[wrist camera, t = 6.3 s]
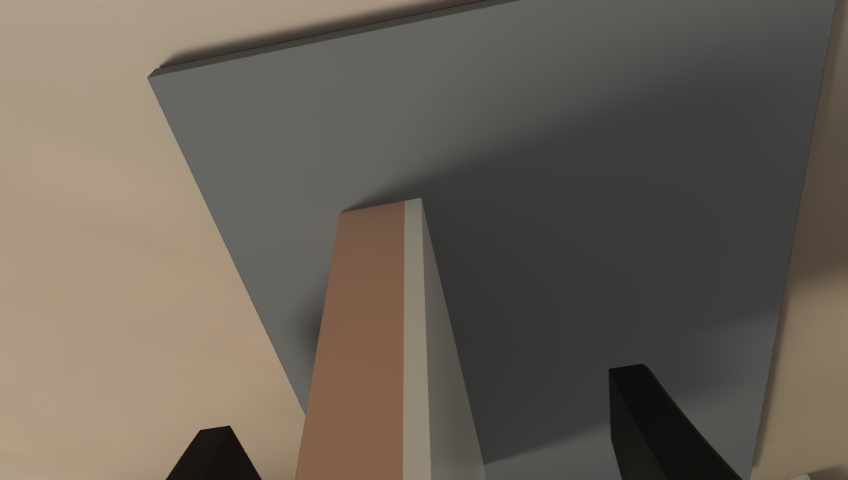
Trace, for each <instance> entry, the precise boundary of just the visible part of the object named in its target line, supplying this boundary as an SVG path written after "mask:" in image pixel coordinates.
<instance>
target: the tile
mask: <svg viewBox="0 0 848 480" xmlns="http://www.w3.org/2000/svg"><path fill="white" fill-rule="evenodd" d="M295 480H486V479H485V471H484V464H483V459H482V455H481V451H480V447H479V442H478V438H477V434H476V430H475V425H474V421H473V417H472V412H471V408H470V404H469V400H468V395H467V391H466V387H465V383H464V378H463V374H462V370H461V366H460V361H459V357H458V353H457V349H456V344H455V340H454V336H453V332H452V327H451V323H450V319H449V315H448V310H447V306H446V302H445V298H444V293H443V289H442V285H441V281H440V276H439V272H438V268H437V264H436V259H435V255H434V251H433V246H432V242H431V238H430V234H429V229H428V225H427V221H426V217H425V212H424V208H423V204H422V200H421V198H417V199H412V200H406V201H401V202H395V203H390V204H385V205H379V206H374V207H368V208H363V209H357V210H352V211H346V212H341V213H340V214H339V220H338V226H337V232H336V238H335V244H334V250H333V256H332V262H331V268H330V274H329V280H328V286H327V292H326V298H325V304H324V310H323V316H322V322H321V328H320V333H319V339H318V345H317V351H316V357H315V363H314V369H313V375H312V381H311V387H310V393H309V399H308V405H307V411H306V417H305V423H304V429H303V435H302V441H301V447H300V453H299V459H298V465H297V471H296V477H295Z"/></svg>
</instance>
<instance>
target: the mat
mask: <svg viewBox="0 0 848 480" xmlns="http://www.w3.org/2000/svg"><path fill="white" fill-rule="evenodd" d="M835 4H836V0H484V1H479V2H475V3H470V4H465V5H460V6H455V7H451V8H446V9H441V10H436V11H431V12H427V13H422V14H417V15H412V16H407V17H403V18H398V19H393V20H388V21H383V22H379V23H374V24H369V25H364V26H359V27H355V28H350V29H345V30H340V31H335V32H331V33H326V34H321V35H316V36H311V37H307V38H302V39H297V40H292V41H287V42H283V43H278V44H273V45H268V46H263V47H259V48H254V49H249V50H244V51H239V52H235V53H230V54H225V55H220V56H215V57H211V58H206V59H201V60H196V61H191V62H187V63H182V64H177V65H172V66H167V67H163V68H158V69H155V70H154V71H153V72H152V73H151V74H150V75H149V76H148V77H147V78H148V80H149V83H150V85H151V87H152V89H153V91H154V93H155V95H156V98H157V100H158V102H159V104H160V106H161V108H162V110H163V112H164V115H165V117H166V119H167V121H168V123H169V125H170V127H171V130H172V132H173V134H174V136H175V138H176V140H177V142H178V144H179V147H180V149H181V151H182V153H183V155H184V157H185V159H186V162H187V164H188V166H189V168H190V170H191V172H192V174H193V176H194V179H195V181H196V183H197V185H198V187H199V189H200V191H201V194H202V196H203V198H204V200H205V202H206V204H207V206H208V208H209V211H210V213H211V215H212V217H213V219H214V221H215V223H216V226H217V228H218V230H219V232H220V234H221V236H222V238H223V240H224V243H225V245H226V247H227V249H228V251H229V253H230V255H231V258H232V260H233V262H234V264H235V266H236V268H237V270H238V272H239V275H240V277H241V279H242V281H243V283H244V285H245V287H246V290H247V292H248V294H249V296H250V298H251V300H252V302H253V304H254V307H255V309H256V311H257V313H258V315H259V317H260V319H261V322H262V324H263V326H264V328H265V330H266V332H267V334H268V336H269V339H270V341H271V343H272V345H273V347H274V349H275V351H276V353H277V356H278V358H279V360H280V362H281V364H282V366H283V368H284V371H285V373H286V375H287V377H288V379H289V381H290V383H291V385H292V388H293V390H294V392H295V394H296V396H297V398H298V400H299V403H300V405H301V407H302V409H303V411H304V413H305V415H306V411H307V405H308V399H309V393H310V387H311V381H312V375H313V369H314V363H315V357H316V351H317V345H318V339H319V333H320V328H321V322H322V316H323V310H324V304H325V298H326V292H327V286H328V280H329V274H330V268H331V262H332V256H333V250H334V244H335V238H336V232H337V226H338V220H339V214H340V213H341V212H346V211H352V210H357V209H363V208H368V207H374V206H379V205H385V204H390V203H395V202H401V201H406V200H412V199H417V198H421V200H422V204H423V208H424V212H425V217H426V221H427V225H428V229H429V234H430V238H431V242H432V246H433V251H434V255H435V259H436V264H437V268H438V272H439V276H440V281H441V285H442V289H443V293H444V298H445V302H446V306H447V310H448V315H449V319H450V323H451V327H452V332H453V336H454V340H455V344H456V349H457V353H458V357H459V361H460V366H461V370H462V374H463V378H464V383H465V387H466V391H467V395H468V400H469V404H470V408H471V412H472V417H473V421H474V425H475V430H476V434H477V438H478V442H479V447H480V451H481V455H482V459H483V464H484V471H485V479H486V480H622V478H621V475H620V471H619V467H618V464H617V460H616V456H615V453H614V449H613V445H612V441H611V428H610V399H609V370H608V369H610V368H617V367H623V366H630V365H637V364H644V365H646V366H647V367H649V369H650V370H651V371H652V373H653V374H654V376H655V377H656V378H657V380H658V381H659V382H660V384H661V385H662V387H663V388H664V389H665V390H666V392H667V393H668V394H669V396H670V397H671V398H672V400H673V401H674V402H675V403H676V405H677V406H678V407H679V408H680V410H681V411H682V412H683V413H684V414H685V416H686V417H687V418H688V419H689V420H690V422H691V423H692V424H693V425H694V426H695V428H696V429H697V430H698V431H699V432H700V433H701V435H702V436H703V437H704V438H705V439H706V440H707V441H708V443H709V444H710V445H711V446H712V447H713V448H714V449H715V450H716V451H717V452H718V454H719V455H720V456H721V457H722V458H723V459H724V460H725V461H726V462H727V463H728V465H729V466H730V467H731V468H732V469H733V470H734V471H735V472H736V473H737V474H738V475H739V476H740V477H741V479H742V480H750V474H751V469H752V463H753V458H754V452H755V447H756V441H757V436H758V430H759V425H760V419H761V414H762V408H763V402H764V397H765V391H766V386H767V380H768V375H769V369H770V364H771V358H772V353H773V347H774V342H775V336H776V331H777V325H778V320H779V314H780V308H781V303H782V297H783V292H784V286H785V281H786V275H787V270H788V264H789V259H790V253H791V248H792V242H793V237H794V231H795V226H796V220H797V215H798V209H799V203H800V198H801V192H802V187H803V181H804V176H805V170H806V165H807V159H808V154H809V148H810V143H811V137H812V132H813V126H814V121H815V115H816V109H817V104H818V98H819V93H820V87H821V82H822V76H823V71H824V65H825V60H826V54H827V49H828V43H829V38H830V32H831V27H832V21H833V16H834V10H835Z"/></svg>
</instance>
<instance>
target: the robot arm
mask: <svg viewBox="0 0 848 480" xmlns="http://www.w3.org/2000/svg"><path fill="white" fill-rule="evenodd" d="M608 370H609V399H610V428H611V441H612V445H613V449H614V453H615V456H616V460H617V464H618V467H619V471H620V475H621V478H622V480H742V479H741V477H740V476H739V475H738V474H737V473H736V472H735V471H734V470H733V469H732V468H731V467H730V466H729V465H728V463H727V462H726V461H725V460H724V459H723V458H722V457H721V456H720V455H719V454H718V452H717V451H716V450H715V449H714V448H713V447H712V446H711V445H710V444H709V443H708V441H707V440H706V439H705V438H704V437H703V436H702V435H701V433H700V432H699V431H698V430H697V429H696V428H695V426H694V425H693V424H692V423H691V422H690V420H689V419H688V418H687V417H686V416H685V414H684V413H683V412H682V411H681V410H680V408H679V407H678V406H677V405H676V403H675V402H674V401H673V400H672V398H671V397H670V396H669V394H668V393H667V392H666V390H665V389H664V388H663V387H662V385H661V384H660V382H659V381H658V380H657V378H656V377H655V376H654V374H653V373H652V371H651V370H650V369H649V367H647V366H646V365H644V364H637V365H630V366H623V367H617V368H610V369H608ZM166 480H261V478H260V476H259V474H258V473H257V471H256V469H255V468H254V466H253V464H252V462H251V461H250V459H249V457H248V456H247V454H246V452H245V451H244V449H243V447H242V445H241V444H240V442H239V440H238V439H237V437H236V435H235V433H234V432H233V430H232V428H231V427H230V426H224V427H217V428H210V429H204V430H200V431H199V432H198V434H197V435H196V436H195V438H194V439H193V441H192V442H191V444H190V445H189V446H188V448H187V449H186V451H185V452H184V454H183V455H182V457H181V458H180V459H179V461H178V462H177V464H176V465H175V467H174V468H173V470H172V471H171V473H170V474H169V476H168V477H167V479H166Z"/></svg>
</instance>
